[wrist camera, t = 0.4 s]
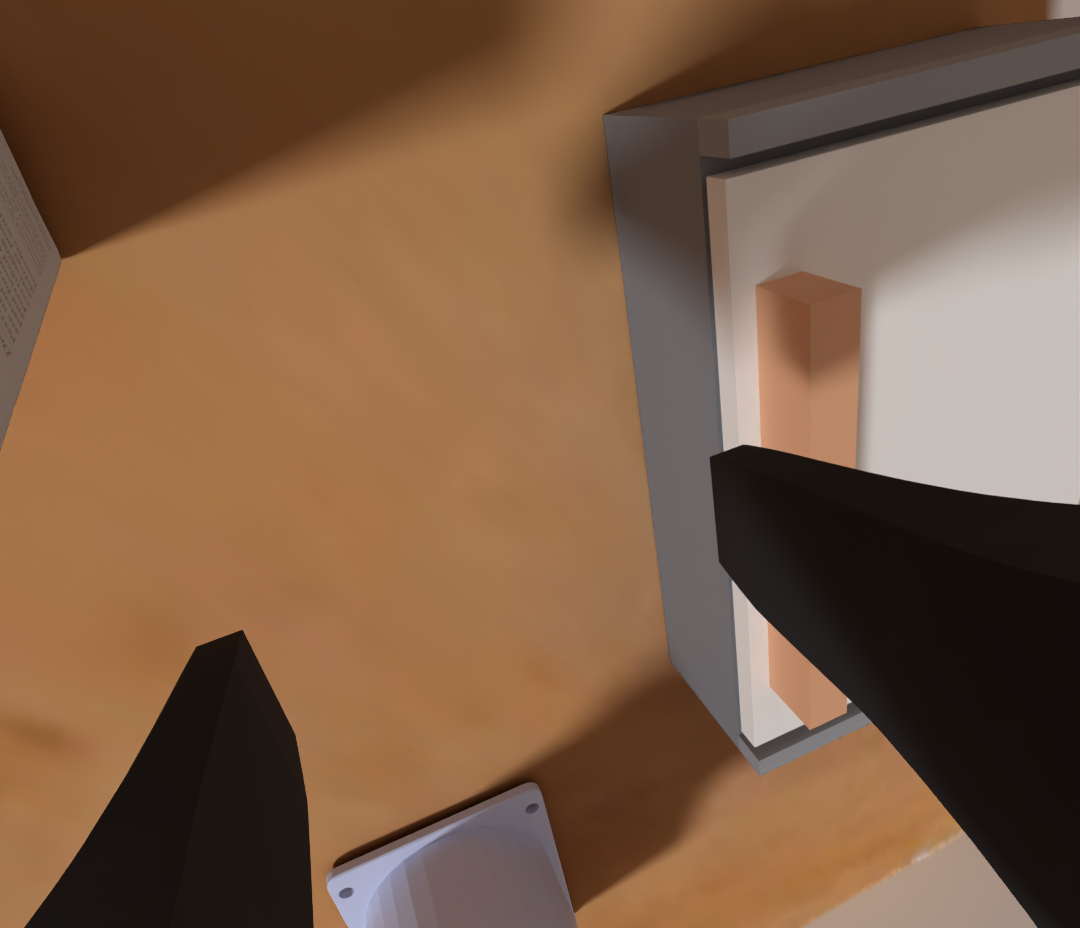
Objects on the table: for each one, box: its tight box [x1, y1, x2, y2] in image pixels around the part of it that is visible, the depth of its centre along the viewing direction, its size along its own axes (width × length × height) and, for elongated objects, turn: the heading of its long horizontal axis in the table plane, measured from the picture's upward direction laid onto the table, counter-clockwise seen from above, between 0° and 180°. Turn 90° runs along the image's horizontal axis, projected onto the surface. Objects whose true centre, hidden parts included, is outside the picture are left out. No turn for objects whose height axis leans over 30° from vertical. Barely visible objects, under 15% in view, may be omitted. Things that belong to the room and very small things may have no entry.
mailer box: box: [603, 17, 1080, 776], centre depth 22 cm, size 19×12×6 cm, turn 11°
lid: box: [706, 79, 1080, 747], centre depth 20 cm, size 17×12×2 cm
